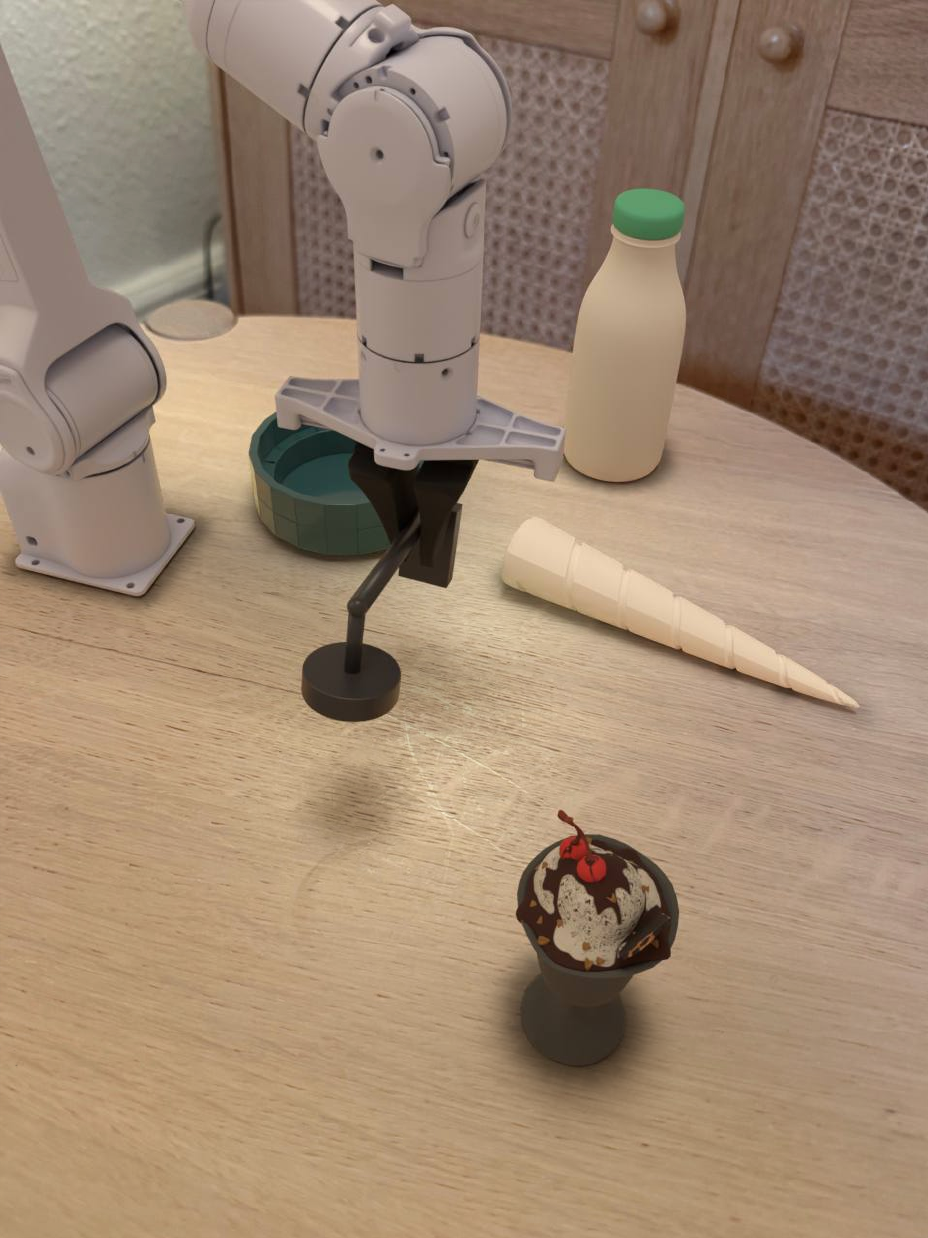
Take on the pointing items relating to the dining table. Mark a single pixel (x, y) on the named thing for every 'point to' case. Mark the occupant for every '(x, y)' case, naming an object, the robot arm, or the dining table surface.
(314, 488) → the bowl
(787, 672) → the unicorn horn
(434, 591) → the dining table surface
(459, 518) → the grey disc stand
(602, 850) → the sundae
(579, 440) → the milk bottle
